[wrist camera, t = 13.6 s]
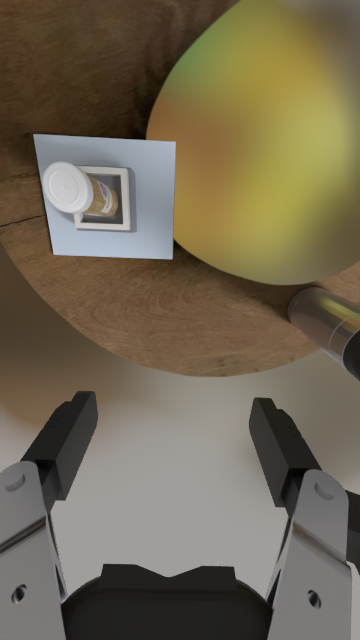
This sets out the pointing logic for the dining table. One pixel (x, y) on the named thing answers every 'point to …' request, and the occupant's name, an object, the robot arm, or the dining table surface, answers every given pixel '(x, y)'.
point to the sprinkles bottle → (77, 191)
